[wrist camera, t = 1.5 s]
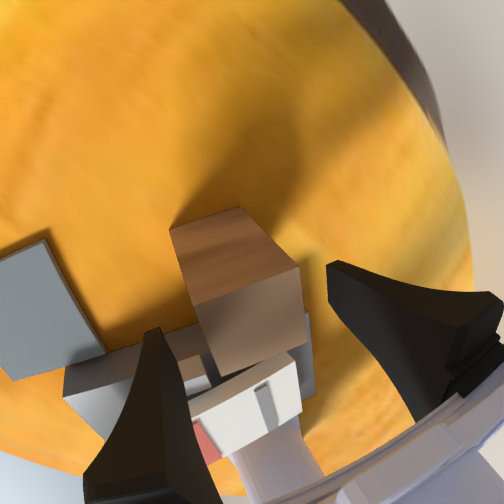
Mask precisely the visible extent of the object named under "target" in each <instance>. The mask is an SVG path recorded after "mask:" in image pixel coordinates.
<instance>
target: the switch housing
mask: <svg viewBox="0 0 504 504" xmlns="http://www.w3.org/2000/svg"><path fill="white" fill-rule="evenodd" d="M304 311H305V320H306V329H307V339H308V342H306V343H304V344H301V345H299V346H297V347H295V348H292V349H290V350H288V351H286V352H287V353H288V354H289V355H290V356H291V357H292V358H293V359H294V360H295V363H296V369H297V376H298V383H299V390H300V397H301V401H303V400H305V399H307V398H309V397H311V396H314V395H316V391H315V378H314V366H313V354H312V343H311V332H310V322H309V313H308V311H307V310H306V309H305V308H304ZM164 337H165V339H166V341H167V343H168V345H169V347H170V349H171V350H172V352H173V354H174V356H175V358H176V360H177V362H178V366H179V369H180V372H181V375H182V378H183V381H184V386H185V391H186V396H187V400H188V401H189V400H191V399H193V398H195V397H197V396H199V395H201V394H203V393H205V392H207V391H209V390H211V389H213V388H215V387H217V386H219V385H221V384H222V383H224V382H226V381H228V380H230V379H232V378H234V377H235V376H237V375H239V374H241V373H243V372H245V371H246V370H248V369H250V368H252V367H254V366H255V365H257V364H259V363H261V362H262V361H261V362H259V363H256V364H254V365H251V366H249V367H246V368H243V369H241V370H238V371H236V372H233V373H230V374H228V375H225V376H221V374H220V372H219V369H218V367H217V365H216V362H215V360H214V358H213V355H212V353H211V350H210V348H209V346H208V343H207V341H206V338H205V336H204V333H203V331H202V328H201V326H200V323H199V322H198V323H195V324H193V325H190V326H187V327H184V328H181V329H179V330H176V331H173V332H170V333H167V334H164ZM141 347H142V342H141V343H138V344H135V345H132V346H129V347H126V348H123V349H119V350H116V351H113V352H110V353H107V354H104V355H101V356H98V357H94V358H91V359H88V360H85V361H82V362H78V363H75V364H72V365H68V366H65V376H64V386H63V399H64V400H65V401H66V402H67V403H68V404H69V405H70V406H71V407H72V408H73V410H74V411H75V412H76V413H77V414H78V415H79V416H80V417H81V418H82V419H83V420H84V421H85V422H86V423H87V424H88V425H89V426H90V427H91V428H92V429H93V430H95V431H96V432H97V433H98V434H99V435H100V436H101V437H102V438H103V439H105V438H107V437H109V436H110V434H111V432H112V430H113V428H114V426H115V424H116V422H117V420H118V418H119V416H120V414H121V412H122V409H123V407H124V404H125V402H126V399H127V397H128V394H129V391H130V388H131V385H132V382H133V378H134V375H135V372H136V368H137V364H138V360H139V356H140V352H141Z"/></svg>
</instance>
